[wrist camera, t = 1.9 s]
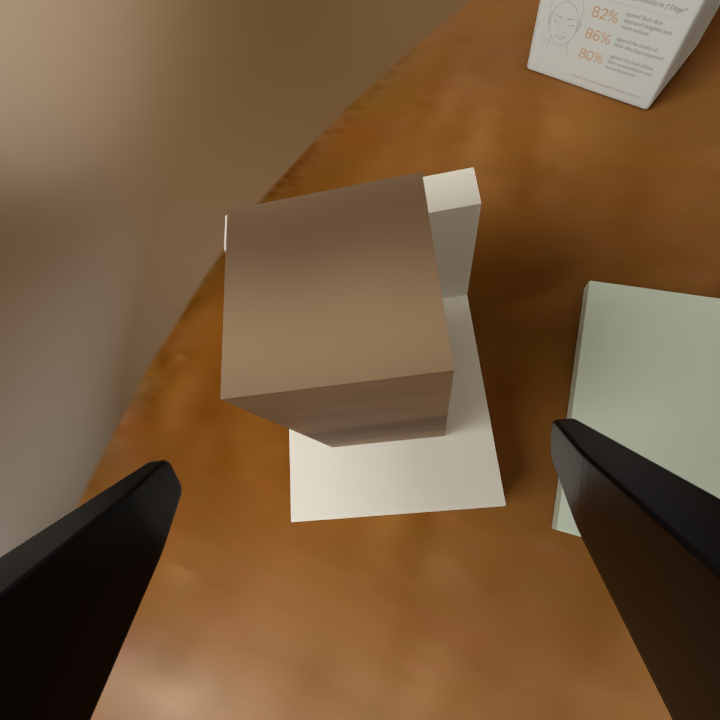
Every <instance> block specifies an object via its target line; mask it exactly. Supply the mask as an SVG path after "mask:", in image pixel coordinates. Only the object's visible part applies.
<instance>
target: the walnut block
mask: <svg viewBox="0 0 720 720" xmlns="http://www.w3.org/2000/svg"><path fill="white" fill-rule="evenodd" d="M453 374H454V367H453V361H452V355H451V349H450V342H449V336H448V330H447V324H446V318H445V311H444V305H443V299H442V293H441V287H440V280H439V274H438V268H437V262H436V256H435V249H434V243H433V237H432V231H431V225H430V218H429V212H428V206H427V200H426V194H425V187H424V181H423V175H422V172H419V173H414V174H409V175H404V176H399V177H394V178H388V179H383V180H378V181H373V182H368V183H363V184H358V185H353V186H348V187H343V188H338V189H333V190H328V191H323V192H317V193H312V194H307V195H302V196H297V197H292V198H287V199H282V200H277V201H272V202H267V203H262V204H257V205H252V206H247V207H241V208H237V209H231V210H228V211H227V233H226V261H225V288H224V315H223V342H222V369H221V397H220V399H221V400H223V401H225V402H228V403H230V404H232V405H235V406H237V407H239V408H242V409H244V410H246V411H249V412H251V413H253V414H256V415H258V416H260V417H263V418H265V419H267V420H270V421H272V422H274V423H277V424H279V425H281V426H284V427H286V428H288V429H291V430H293V431H295V432H298V433H300V434H302V435H305V436H307V437H309V438H312V439H314V440H316V441H319V442H321V443H323V444H326V445H328V446H330V447H340V446H350V445H360V444H370V443H380V442H390V441H399V440H409V439H419V438H429V437H439V436H445V430H446V423H447V416H448V409H449V402H450V395H451V388H452V381H453Z"/></svg>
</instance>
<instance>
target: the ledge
mask: <svg viewBox="0 0 720 720" xmlns="http://www.w3.org/2000/svg"><path fill="white" fill-rule="evenodd" d="M423 181H424V187H425V194H426V200H427V206H428V212H429V218H430V225H431V231H432V237H433V243H434V249H435V256H436V262H437V268H438V274H439V280H440V287H441V293H442V299H443V305H444V311H445V318H446V324H447V330H448V336H449V342H450V349H451V355H452V361H453V367H454V374H453V381H452V388H451V395H450V402H449V409H448V416H447V423H446V430H445V436H439V437H429V438H419V439H409V440H399V441H390V442H380V443H370V444H360V445H350V446H340V447H330V446H328V445H326V444H323V443H321V442H319V441H316V440H314V439H312V438H309V437H307V436H305V435H302V434H300V433H298V432H295V431H293V430H291V429H289V437H290V487H291V522H299V521H312V520H326V519H339V518H352V517H366V516H379V515H392V514H406V513H419V512H432V511H446V510H459V509H472V508H485V507H499V506H506V503H505V498H504V492H503V487H502V481H501V476H500V471H499V465H498V460H497V454H496V449H495V443H494V438H493V433H492V427H491V422H490V416H489V411H488V406H487V400H486V395H485V389H484V384H483V378H482V373H481V368H480V362H479V357H478V351H477V346H476V340H475V335H474V330H473V324H472V319H471V313H470V308H469V302H468V297H467V292H468V286H469V280H470V273H471V267H472V260H473V254H474V247H475V241H476V234H477V228H478V222H479V215H480V209H481V200H480V195H479V190H478V186H477V181H476V176H475V172H474V167H472V168H467V169H462V170H457V171H452V172H447V173H442V174H436V175H431V176H426V177H423ZM226 233H227V215H226V217H225V241H224V251H225V252H226Z"/></svg>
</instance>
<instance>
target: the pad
mask: <svg viewBox="0 0 720 720" xmlns="http://www.w3.org/2000/svg"><path fill="white" fill-rule="evenodd" d="M568 418H573V419H576V420H578V421H580V422H582V423H584V424H585V425H587V426H589V427H591V428H593V429H594V430H596V431H598V432H600V433H602V434H603V435H605V436H607V437H609V438H611V439H613V440H614V441H616V442H618V443H620V444H622V445H623V446H625V447H627V448H629V449H631V450H632V451H634V452H636V453H638V454H640V455H642V456H643V457H645V458H647V459H649V460H651V461H652V462H654V463H656V464H658V465H660V466H661V467H663V468H665V469H667V470H669V471H670V472H672V473H674V474H676V475H678V476H680V477H681V478H683V479H685V480H687V481H689V482H690V483H692V484H694V485H696V486H698V487H699V488H701V489H703V490H705V491H707V492H709V493H710V494H712V495H714V496H716V497H718V498H719V499H720V299H719V298H712V297H704V296H697V295H690V294H683V293H676V292H668V291H661V290H654V289H647V288H640V287H632V286H625V285H618V284H611V283H604V282H596V281H589V282H588V284H587V285H586V286H585V288H584V293H583V300H582V308H581V315H580V323H579V330H578V337H577V345H576V352H575V359H574V367H573V374H572V382H571V389H570V396H569V404H568V411H567V418H566V419H568ZM552 529H555V530H558V531H562V532H565V533H569V534H572V535H576V536H579V537H581V535H580V533H579V530H578V528H577V526H576V524H575V521H574V518H573V516H572V513H571V510H570V508H569V505H568V502H567V499H566V497H565V494H564V491H563V488H562V485H561V483H560V480H559V477H558V485H557V492H556V500H555V507H554V514H553V522H552Z"/></svg>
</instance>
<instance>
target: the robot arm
mask: <svg viewBox="0 0 720 720" xmlns="http://www.w3.org/2000/svg"><path fill="white" fill-rule="evenodd" d="M551 456H552V460H553V463H554V466H555V469H556V472H557V474H558V477H559V480H560V483H561V485H562V488H563V491H564V494H565V497H566V499H567V502H568V505H569V508H570V510H571V513H572V516H573V518H574V521H575V524H576V526H577V528H578V530H579V533H580V535H581V537H582V539H583V541H584V543H585V545H586V547H587V549H588V551H589V553H590V555H591V557H592V559H593V561H594V563H595V565H596V567H597V569H598V571H599V573H600V575H601V577H602V579H603V581H604V583H605V585H606V587H607V589H608V591H609V593H610V595H611V597H612V599H613V601H614V603H615V605H616V607H617V609H618V611H619V613H620V615H621V617H622V619H623V621H624V623H625V625H626V627H627V629H628V631H629V633H630V635H631V637H632V639H633V641H634V643H635V645H636V647H637V649H638V651H639V653H640V655H641V657H642V659H643V661H644V663H645V665H646V667H647V669H648V671H649V673H650V675H651V677H652V679H653V681H654V683H655V685H656V687H657V689H658V691H659V693H660V695H661V697H662V699H663V701H664V703H665V705H666V707H667V709H668V711H669V713H670V715H671V717H672V719H673V720H720V499H719V498H718V497H716V496H714V495H712V494H710V493H709V492H707V491H705V490H703V489H701V488H699V487H698V486H696V485H694V484H692V483H690V482H689V481H687V480H685V479H683V478H681V477H680V476H678V475H676V474H674V473H672V472H670V471H669V470H667V469H665V468H663V467H661V466H660V465H658V464H656V463H654V462H652V461H651V460H649V459H647V458H645V457H643V456H642V455H640V454H638V453H636V452H634V451H632V450H631V449H629V448H627V447H625V446H623V445H622V444H620V443H618V442H616V441H614V440H613V439H611V438H609V437H607V436H605V435H603V434H602V433H600V432H598V431H596V430H594V429H593V428H591V427H589V426H587V425H585V424H584V423H582V422H580V421H578V420H576V419H573V418H568V419H559V420H555V421H553V423H552V431H551ZM180 496H181V484H180V482H179V480H178V478H177V476H176V474H175V472H174V470H173V468H172V466H171V464H170V463H169V462H168V461H166V460H159V461H151V462H149V463H147V464H145V465H144V466H142V467H141V468H139V469H137V470H136V471H134V472H133V473H131V474H130V475H128V476H127V477H125V478H123V479H122V480H120V481H119V482H117V483H116V484H114V485H113V486H111V487H109V488H108V489H106V490H105V491H103V492H102V493H100V494H99V495H97V496H95V497H94V498H92V499H91V500H89V501H88V502H86V503H84V504H83V505H81V506H80V507H78V508H77V509H75V510H74V511H72V512H71V513H69V514H67V515H66V516H64V517H63V518H61V519H60V520H58V521H57V522H55V523H53V524H52V525H50V526H49V527H47V528H46V529H44V530H42V531H41V532H40V533H38V534H36V535H35V536H33V537H32V538H30V539H29V540H27V541H25V542H24V543H22V544H21V545H19V546H18V547H16V548H14V549H13V550H11V551H10V552H9V553H7V554H5V555H4V556H2V557H1V558H0V720H90V719H91V717H92V715H93V712H94V710H95V708H96V705H97V703H98V701H99V699H100V696H101V694H102V692H103V689H104V687H105V685H106V682H107V680H108V678H109V675H110V673H111V671H112V668H113V666H114V664H115V661H116V659H117V657H118V654H119V652H120V650H121V647H122V645H123V643H124V641H125V638H126V636H127V634H128V631H129V629H130V627H131V624H132V622H133V620H134V617H135V615H136V613H137V610H138V608H139V606H140V603H141V601H142V599H143V596H144V594H145V592H146V589H147V587H148V585H149V582H150V580H151V578H152V576H153V573H154V571H155V569H156V566H157V564H158V561H159V559H160V557H161V554H162V551H163V548H164V546H165V543H166V540H167V536H168V533H169V530H170V527H171V524H172V521H173V518H174V515H175V512H176V509H177V506H178V502H179V499H180Z"/></svg>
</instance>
